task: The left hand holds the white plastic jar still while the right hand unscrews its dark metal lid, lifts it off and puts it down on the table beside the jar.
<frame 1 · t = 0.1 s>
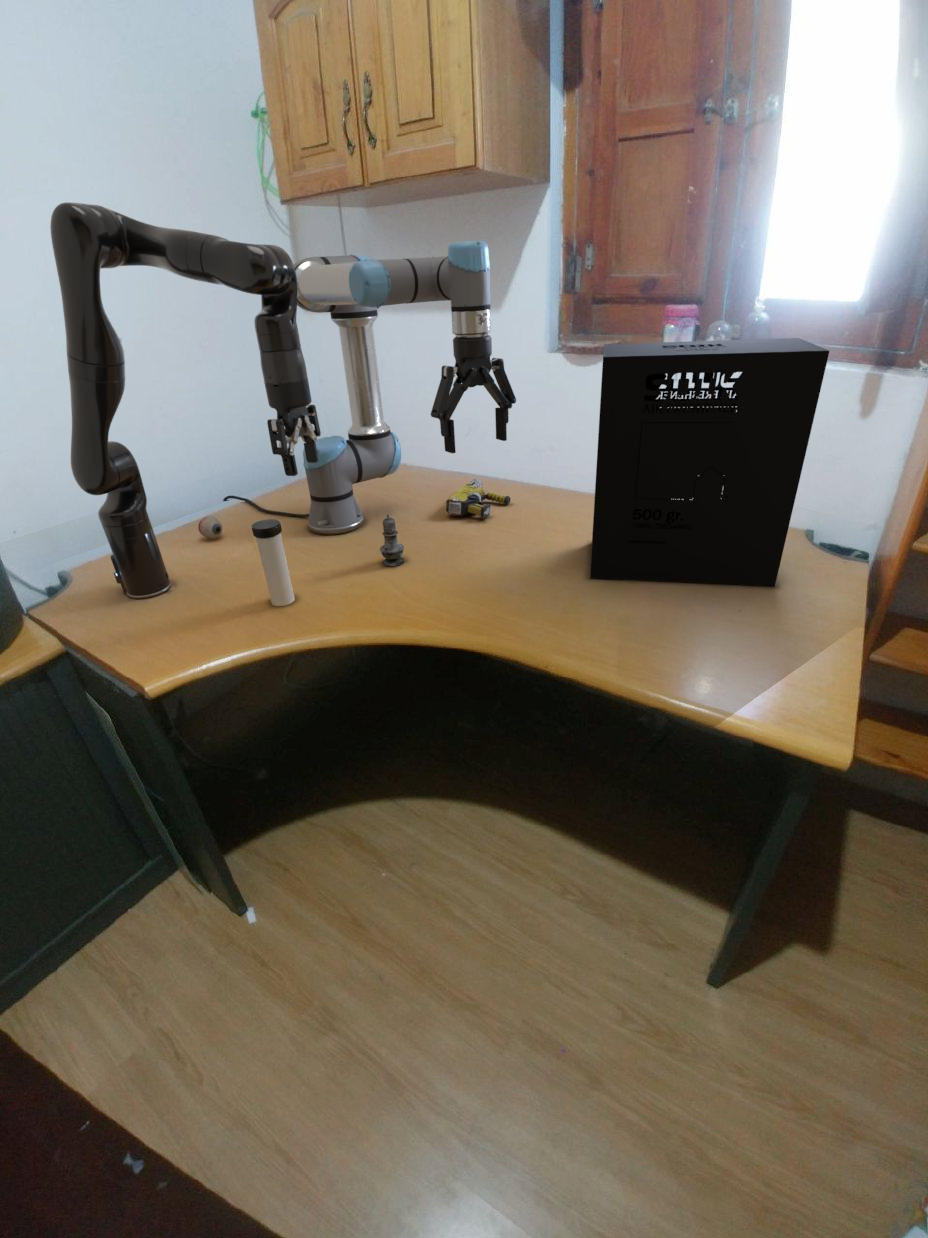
left hand: (302, 468, 114), 29 cm above the table, tool pointing down, fingers open, 8 cm apart
right hand: (476, 445, 127), 28 cm above the table, tool pointing down, fingers open, 13 cm apart
toy gun: (483, 506, 177), on the table
cardboard box: (675, 562, 137), on the table
eyeball: (213, 538, 166), on the table
grey stepped tapered figure: (393, 562, 146), on the table
jar: (283, 600, 131), on the table
lid: (266, 525, 122), point 17 cm above the table, screwed on, not yet turned
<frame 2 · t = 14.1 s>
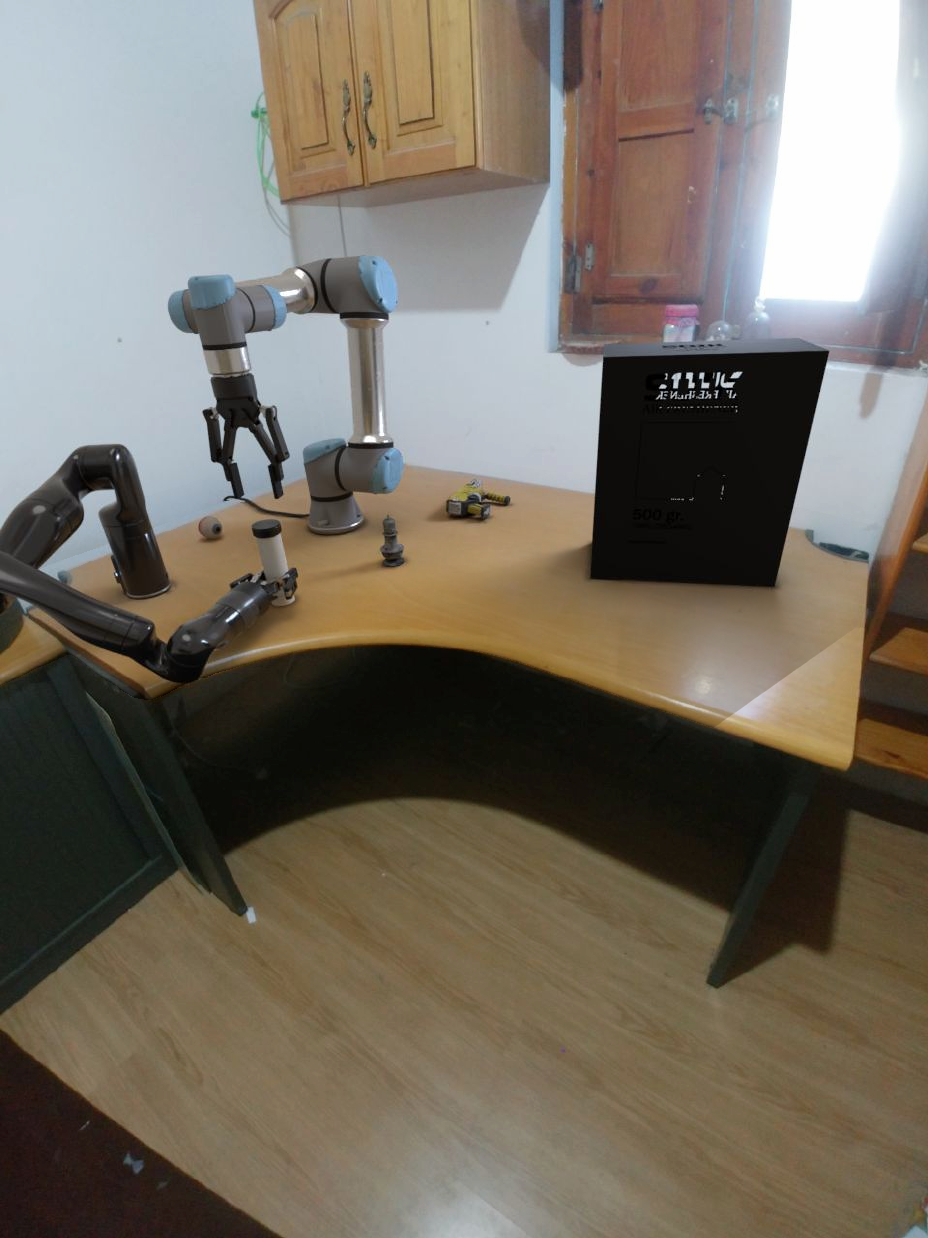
left hand: (283, 570, 130), 6 cm above the table, tool horizontal, fingers closed on jar, 5 cm apart
right hand: (259, 496, 119), 23 cm above the table, tool pointing down, fingers open, 8 cm apart
jar: (283, 600, 131), on the table, touching left hand
everything else where it was.
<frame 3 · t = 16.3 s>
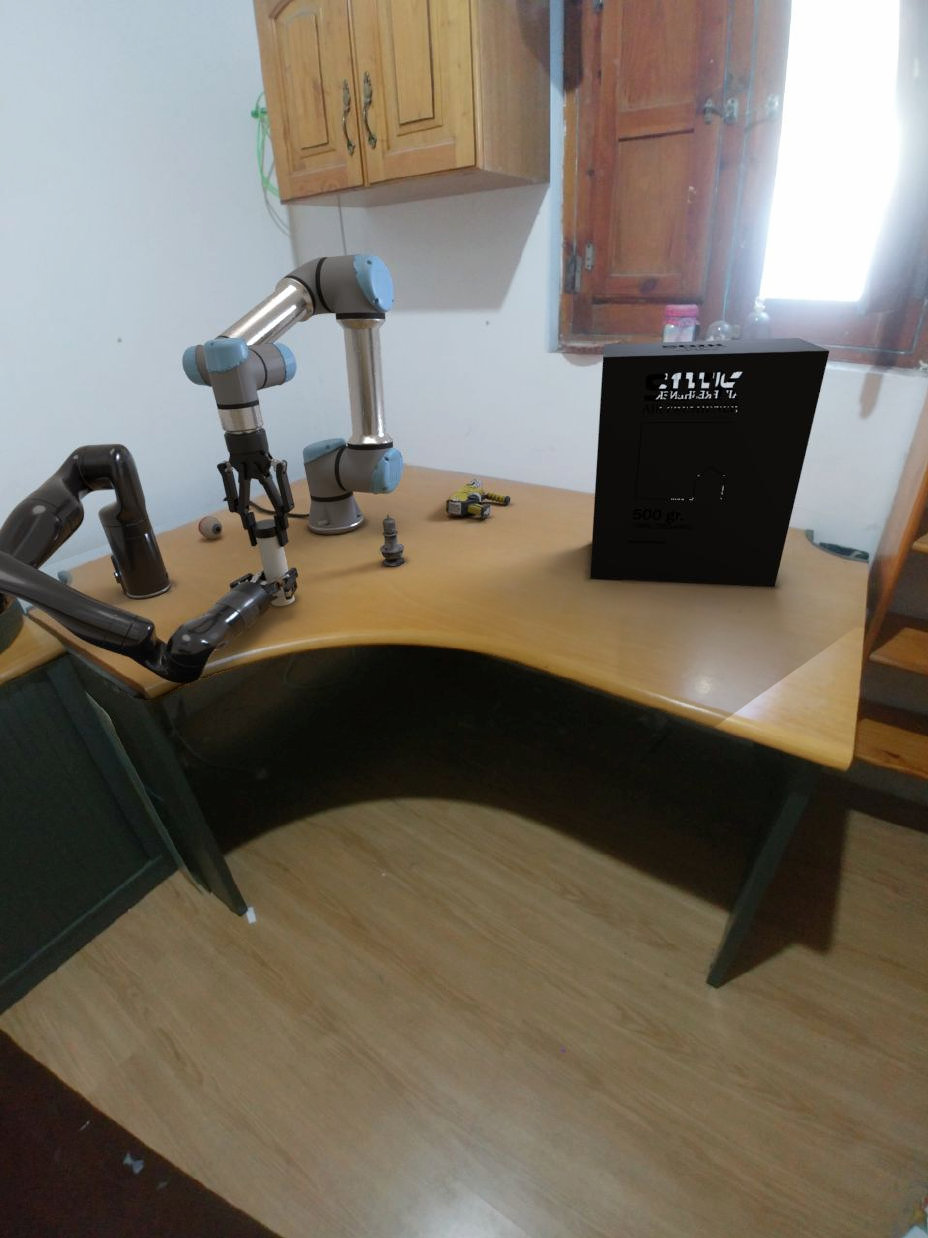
left hand: (283, 570, 130), 6 cm above the table, tool horizontal, fingers closed on jar, 5 cm apart
right hand: (270, 543, 124), 13 cm above the table, tool pointing down, fingers closed on lid, 5 cm apart
jar: (283, 600, 131), on the table, touching left hand
lid: (266, 525, 122), point 17 cm above the table, screwed on, not yet turned, touching right hand
everything else where it was.
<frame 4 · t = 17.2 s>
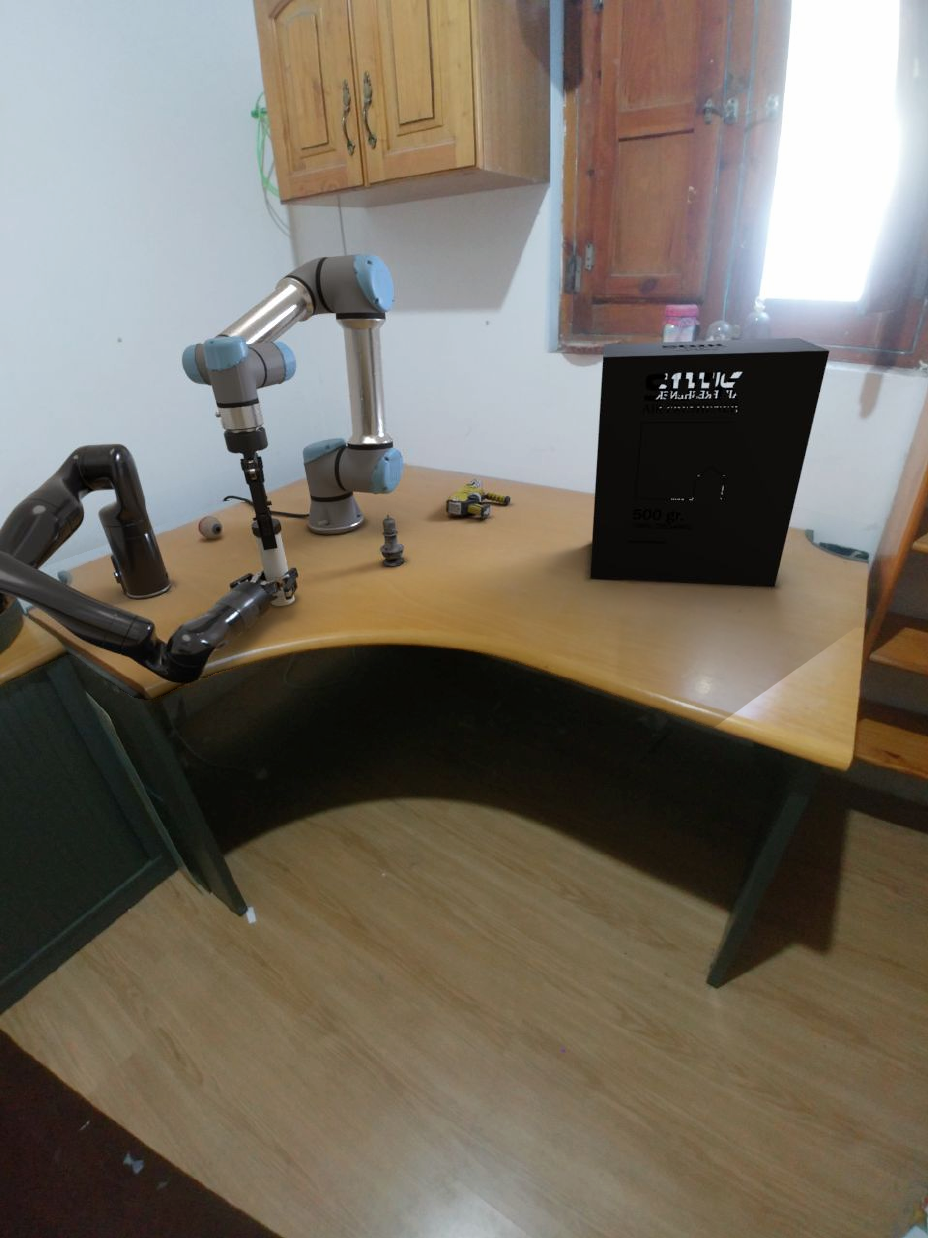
left hand: (283, 570, 130), 6 cm above the table, tool horizontal, fingers closed on jar, 5 cm apart
right hand: (270, 542, 124), 14 cm above the table, tool pointing down, fingers closed on lid, 5 cm apart
jar: (283, 600, 131), on the table, touching left hand
lid: (265, 524, 122), point 18 cm above the table, off its thread, touching right hand
everything else where it was.
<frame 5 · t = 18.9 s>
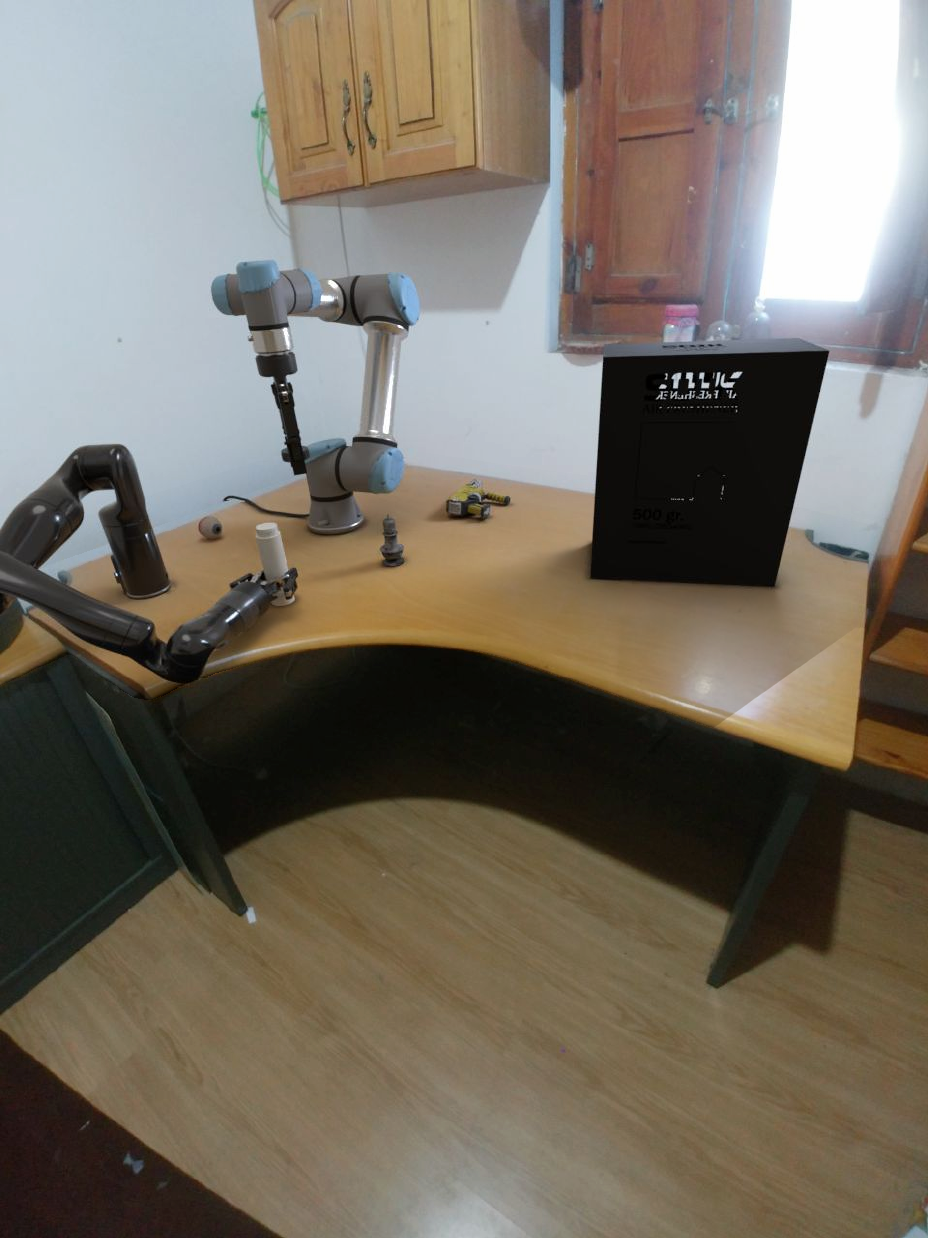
left hand: (283, 570, 130), 6 cm above the table, tool horizontal, fingers closed on jar, 5 cm apart
right hand: (298, 469, 129), 25 cm above the table, tool pointing down, fingers closed on lid, 5 cm apart
jar: (283, 600, 131), on the table, touching left hand
lid: (294, 450, 127), point 29 cm above the table, off its thread, touching right hand
everything else where it was.
when the right hand's fingers open (0 cm above the table, at t = 23.0 s): lid drops 2 cm, point 2 cm above the table.
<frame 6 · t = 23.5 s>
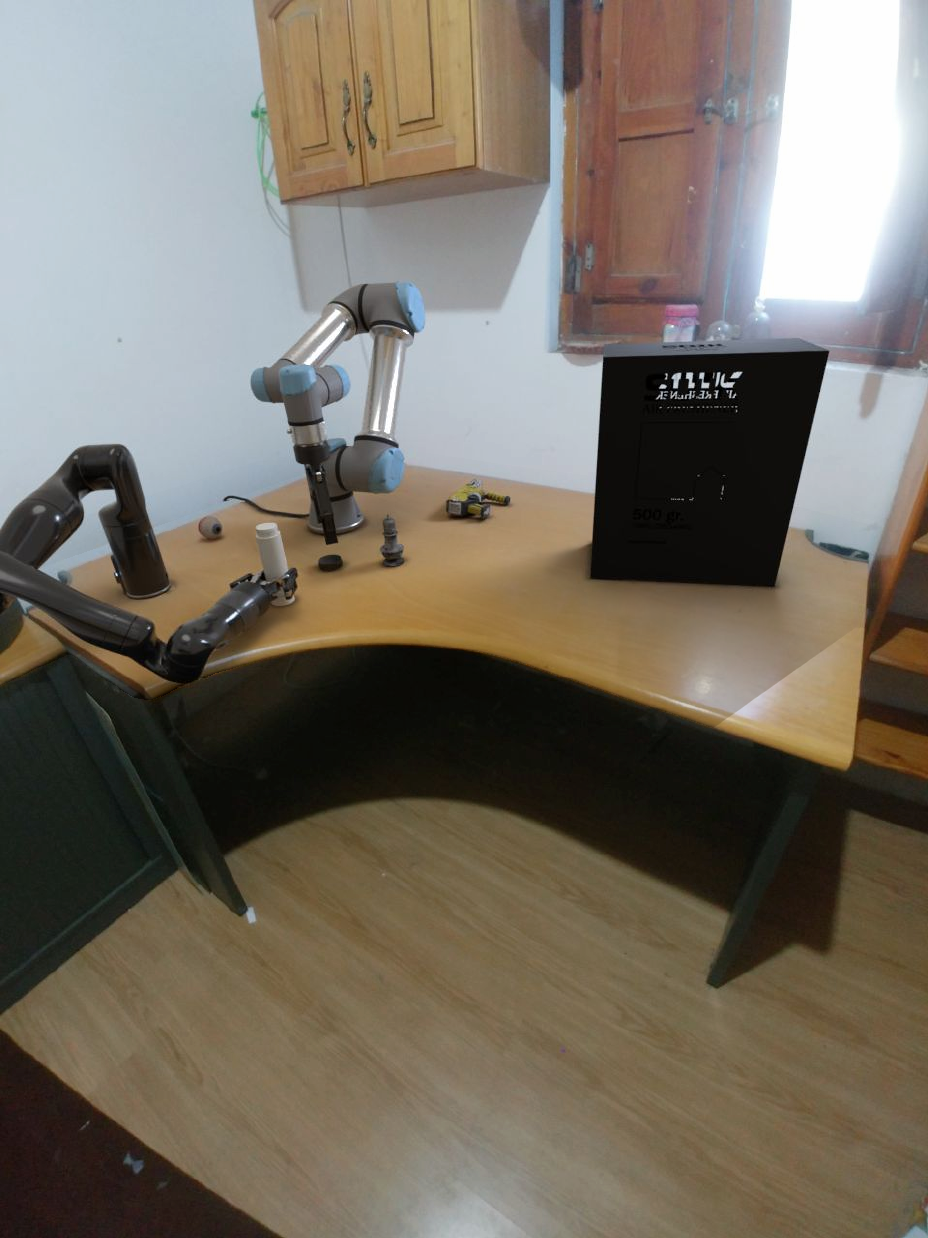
left hand: (283, 570, 130), 6 cm above the table, tool horizontal, fingers closed on jar, 5 cm apart
right hand: (327, 532, 142), 8 cm above the table, tool pointing down, fingers open, 13 cm apart
jar: (283, 600, 131), on the table, touching left hand
lid: (330, 560, 145), point 2 cm above the table, off its thread
everything else where it was.
when the left hand's fingers open (6 cm above the table, at t = 23.7 s): jar stays where it is, on the table.
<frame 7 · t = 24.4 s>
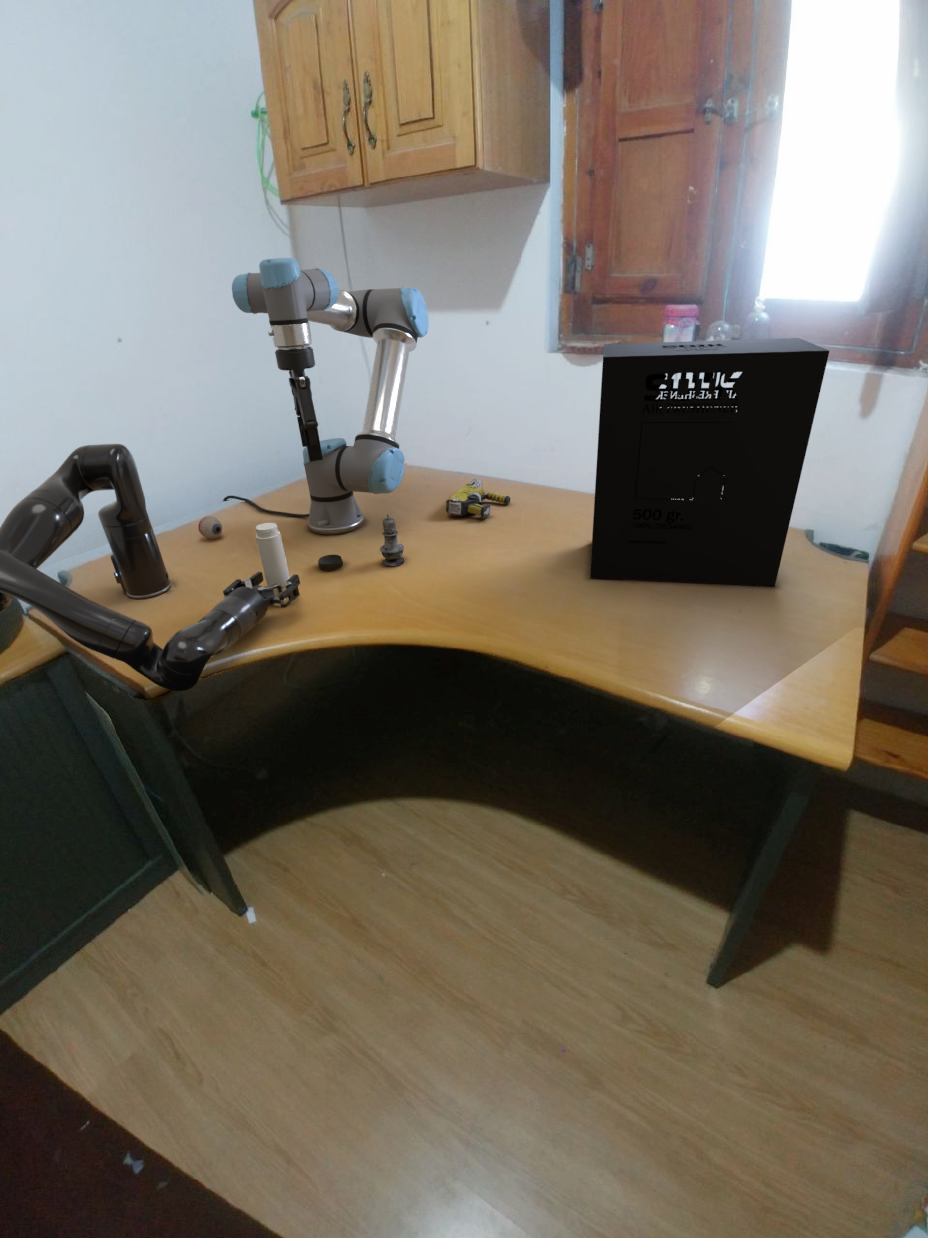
left hand: (279, 577, 129), 6 cm above the table, tool horizontal, fingers open, 8 cm apart
right hand: (312, 452, 132), 27 cm above the table, tool pointing down, fingers open, 13 cm apart
jar: (283, 600, 131), on the table
everything else where it was.
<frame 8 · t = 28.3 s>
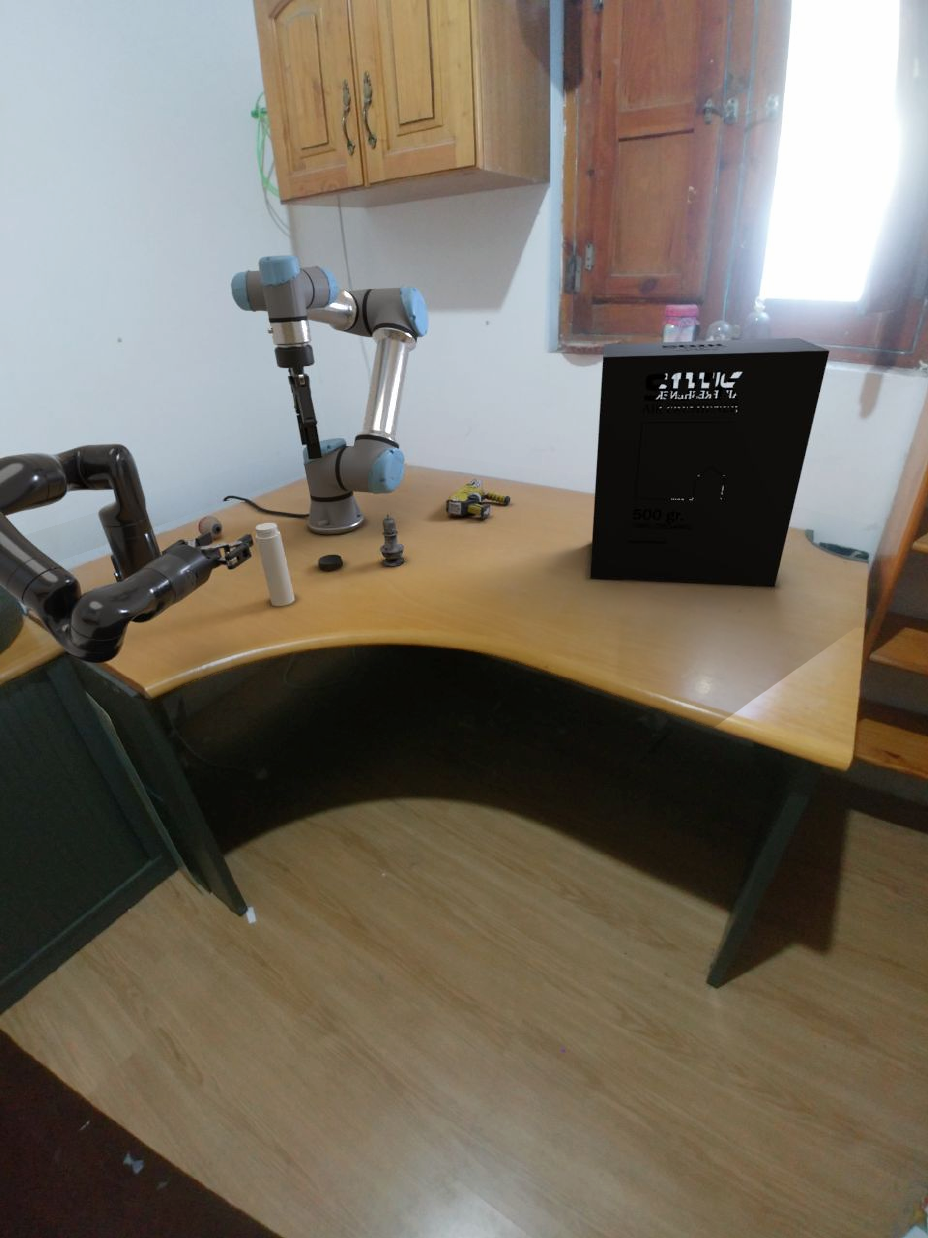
left hand: (230, 537, 111), 20 cm above the table, tool horizontal, fingers open, 8 cm apart
right hand: (311, 451, 132), 28 cm above the table, tool pointing down, fingers open, 13 cm apart
nothing on the table moved.
at the end: lid came off its thread; lid point 1.6 cm above the table; the left hand is holding nothing; the right hand is holding nothing; jar tilted 0°; jar moved 0.1 cm from its start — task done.
